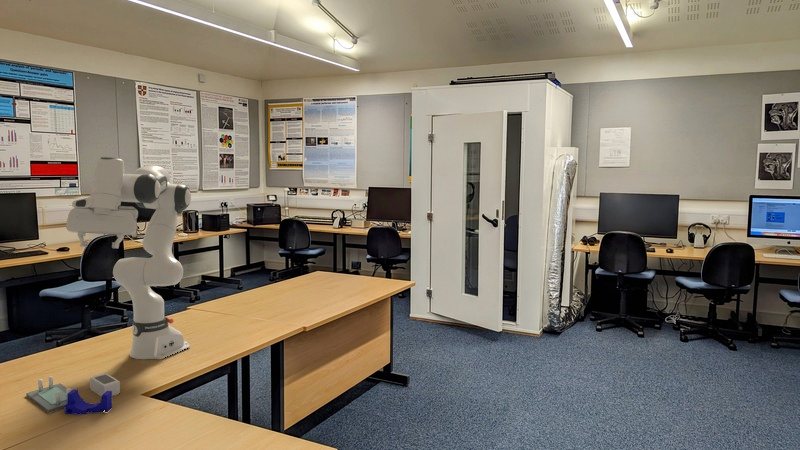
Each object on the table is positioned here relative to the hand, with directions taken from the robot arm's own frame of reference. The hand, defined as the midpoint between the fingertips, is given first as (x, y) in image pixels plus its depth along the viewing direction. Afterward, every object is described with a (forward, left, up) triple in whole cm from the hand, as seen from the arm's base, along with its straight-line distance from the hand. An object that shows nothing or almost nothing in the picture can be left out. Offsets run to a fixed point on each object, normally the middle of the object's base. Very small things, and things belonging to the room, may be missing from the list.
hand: (99, 247), depth 167 cm
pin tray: (+11, -9, -50) cm, 52 cm away
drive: (-2, -3, -50) cm, 51 cm away
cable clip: (+7, +7, -51) cm, 52 cm away
